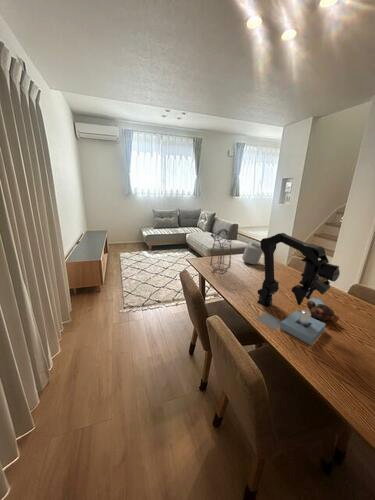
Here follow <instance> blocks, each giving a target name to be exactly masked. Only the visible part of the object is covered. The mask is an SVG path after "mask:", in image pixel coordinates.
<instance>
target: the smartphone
mask: <svg viewBox="0 0 375 500" xmlns="http://www.w3.org/2000/svg"><path fill="white" fill-rule="evenodd" d="M308 301H313V302H314V303H315V305H317V304H323V305H326V303H325V301H323V300H322V299H321V298H317V297H315V298H314V297H310V298H309V299H308ZM326 306H327V305H326Z"/></svg>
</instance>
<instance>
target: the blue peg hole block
mask: <svg viewBox="0 0 375 500" xmlns="http://www.w3.org/2000/svg"><path fill="white" fill-rule="evenodd" d="M300 314H301V311H298V310H294V311H293V312H292V313H290V314H289V315H288V316H287V317H286V318H284V319H283V320H282V322H281V325H280V326H279V329H280V330H282V331H284V332H286V333H288V334H289V335H291V336H293V337H295V338H297V339H299V340H301V341H302V342H304V343H306V344H307V345H310V346H312V345H313V344H314V343H315V342H316V341H317V340H318V338H320V336H321V335H322V334H323V333H324V332H325V328H326V325H327V323H325V322H321V320H318V319H316V318H312V316H310V320H309V324H308V328H306V327H304V326H302V325H300V324H298V323H299V319H300Z"/></svg>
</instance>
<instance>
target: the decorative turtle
mask: <svg viewBox="0 0 375 500" xmlns="http://www.w3.org/2000/svg"><path fill="white" fill-rule="evenodd" d="M306 306H307V308H308V311H309V312H310V313H311V315H310V317H312V318H314V319H316V318H318V319H319V321H320V322H323V323H325V322H326V321H327V320H329V321H332V322H334V323H337V322H339V321H340V317H339V316H337V315H336V314H335V311H334V310H333V309H332V308H331V307H329V306H328V305H323V304H317V305H315V303H314V302H313V301H310V300H307V302H306Z"/></svg>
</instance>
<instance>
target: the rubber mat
mask: <svg viewBox="0 0 375 500" xmlns="http://www.w3.org/2000/svg"><path fill="white" fill-rule="evenodd" d="M256 321H259V322H260V323H262V324H264V325H265V326H267V327H269V328H271V329H272V330H277V329H278V328H280V325H281V322H282V321H283V320H282V319H280V318H279V317H276V316H275V315H272V314H271V313H269V312H265V313H264V314H263V315H261V316H259V317H258V318H256Z"/></svg>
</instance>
